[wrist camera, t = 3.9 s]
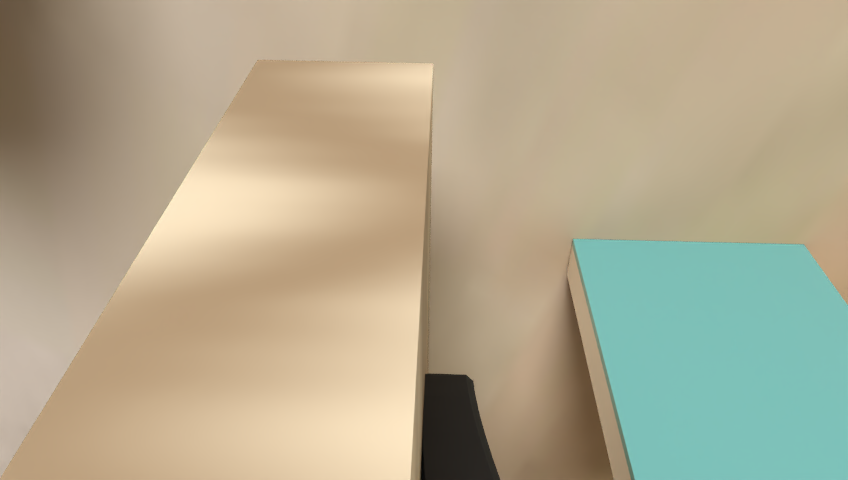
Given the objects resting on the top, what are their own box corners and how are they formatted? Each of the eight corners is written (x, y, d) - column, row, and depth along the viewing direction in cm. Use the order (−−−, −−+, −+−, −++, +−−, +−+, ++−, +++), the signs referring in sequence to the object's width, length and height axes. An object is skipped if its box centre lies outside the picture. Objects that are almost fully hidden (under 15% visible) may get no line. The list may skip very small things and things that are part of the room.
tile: (803, 244, 18) (1050, 586, 11) (788, 280, 19) (1010, 624, 11) (573, 239, 18) (659, 574, 11) (567, 274, 19) (644, 612, 11)
